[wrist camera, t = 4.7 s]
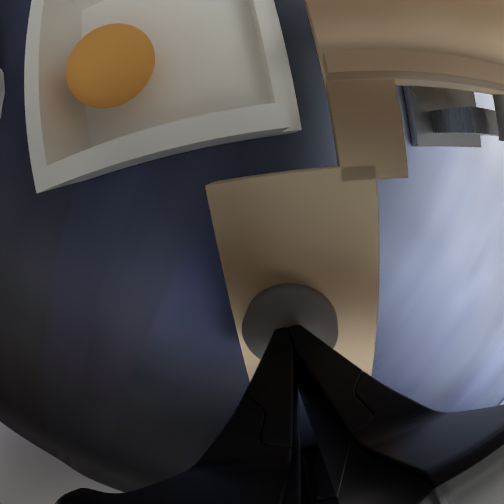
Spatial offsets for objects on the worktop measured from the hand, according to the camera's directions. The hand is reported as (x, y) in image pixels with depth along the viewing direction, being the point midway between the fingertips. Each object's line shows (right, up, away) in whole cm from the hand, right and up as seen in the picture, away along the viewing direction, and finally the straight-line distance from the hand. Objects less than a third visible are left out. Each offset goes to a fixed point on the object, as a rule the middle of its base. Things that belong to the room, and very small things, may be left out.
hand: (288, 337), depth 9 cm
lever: (+9, +7, -2) cm, 12 cm away
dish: (-5, +11, 0) cm, 12 cm away
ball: (-6, +9, -2) cm, 11 cm away
